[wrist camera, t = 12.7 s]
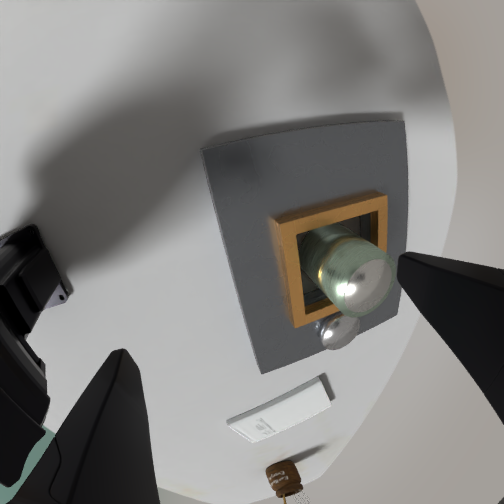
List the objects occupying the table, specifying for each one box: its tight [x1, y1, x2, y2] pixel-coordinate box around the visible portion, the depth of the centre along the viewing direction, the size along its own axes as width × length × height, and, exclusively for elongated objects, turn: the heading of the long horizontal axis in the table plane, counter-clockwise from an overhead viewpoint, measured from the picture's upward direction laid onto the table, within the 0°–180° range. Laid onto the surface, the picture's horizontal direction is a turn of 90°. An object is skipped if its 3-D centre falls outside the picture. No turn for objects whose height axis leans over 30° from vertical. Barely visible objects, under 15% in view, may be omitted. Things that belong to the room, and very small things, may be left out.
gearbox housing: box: [200, 120, 408, 374], centre depth 21 cm, size 16×20×2 cm
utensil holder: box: [266, 461, 303, 504], centre depth 36 cm, size 6×6×12 cm
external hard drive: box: [226, 376, 332, 443], centre depth 31 cm, size 2×8×12 cm
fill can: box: [299, 223, 396, 318], centre depth 20 cm, size 5×5×6 cm
